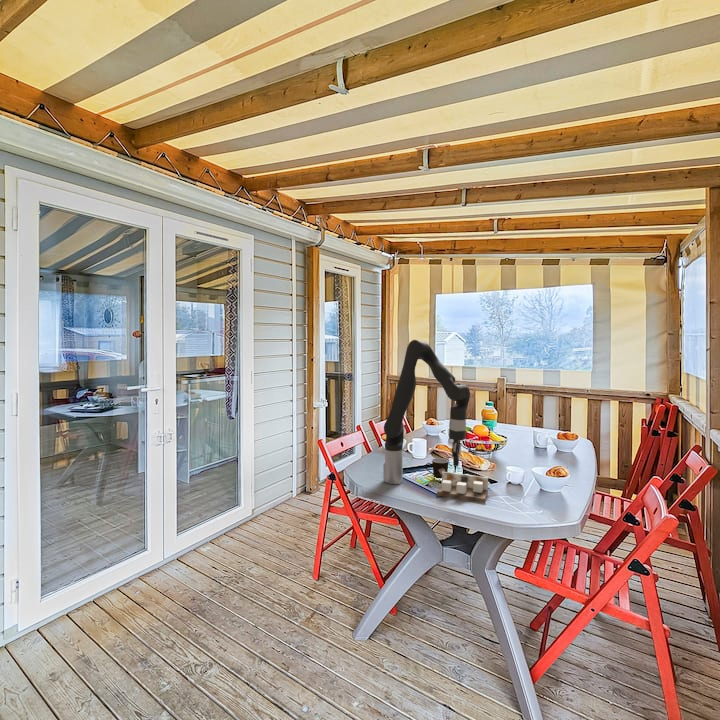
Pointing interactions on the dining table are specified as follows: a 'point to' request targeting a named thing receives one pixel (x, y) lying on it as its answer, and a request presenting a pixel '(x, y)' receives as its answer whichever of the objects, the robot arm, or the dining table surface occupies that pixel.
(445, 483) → the switch left
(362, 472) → the dining table surface
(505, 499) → the dining table surface
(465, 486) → the switch middle
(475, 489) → the switch right
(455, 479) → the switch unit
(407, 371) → the robot arm
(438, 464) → the coffee mug
